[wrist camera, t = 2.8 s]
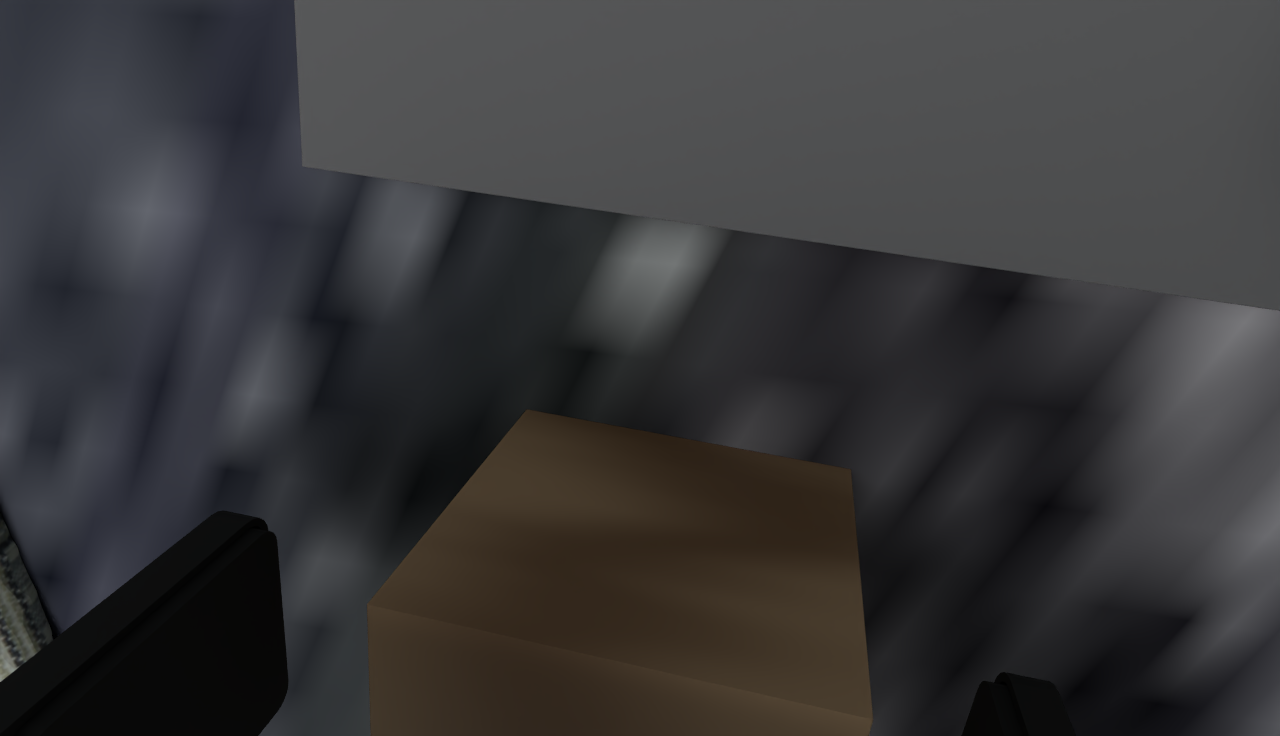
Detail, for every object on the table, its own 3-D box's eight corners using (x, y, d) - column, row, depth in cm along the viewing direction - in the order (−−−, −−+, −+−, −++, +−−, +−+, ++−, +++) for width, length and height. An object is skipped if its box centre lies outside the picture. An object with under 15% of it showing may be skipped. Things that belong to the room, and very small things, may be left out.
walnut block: (850, 466, 12) (873, 718, 7) (791, 722, 14) (780, 1050, 9) (527, 407, 13) (366, 604, 8) (514, 658, 15) (376, 932, 10)
